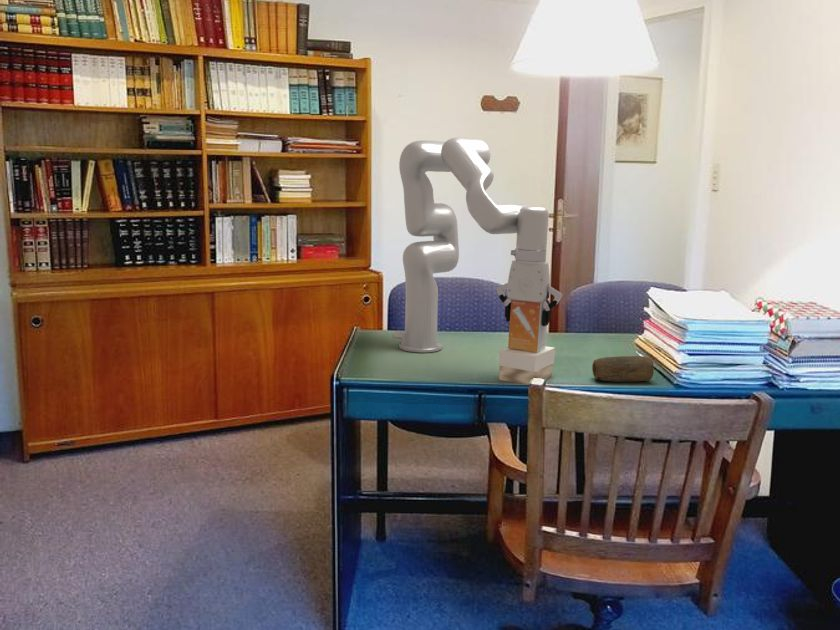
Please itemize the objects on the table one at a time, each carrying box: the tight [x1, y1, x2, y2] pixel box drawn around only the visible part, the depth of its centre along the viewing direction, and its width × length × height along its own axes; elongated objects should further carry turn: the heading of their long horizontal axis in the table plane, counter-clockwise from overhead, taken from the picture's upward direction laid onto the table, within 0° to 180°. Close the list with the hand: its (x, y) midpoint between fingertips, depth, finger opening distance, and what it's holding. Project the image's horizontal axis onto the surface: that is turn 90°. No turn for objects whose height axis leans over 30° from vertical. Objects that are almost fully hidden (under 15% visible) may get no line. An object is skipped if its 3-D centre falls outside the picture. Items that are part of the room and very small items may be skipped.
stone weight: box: [591, 355, 655, 383], centre depth 198 cm, size 15×7×7 cm, turn 97°
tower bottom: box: [498, 363, 554, 385], centre depth 200 cm, size 10×12×4 cm
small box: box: [507, 298, 550, 353], centre depth 198 cm, size 8×6×13 cm
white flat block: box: [498, 345, 556, 372], centre depth 199 cm, size 10×12×4 cm
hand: (527, 323), depth 197 cm, fingers open, 9 cm apart
